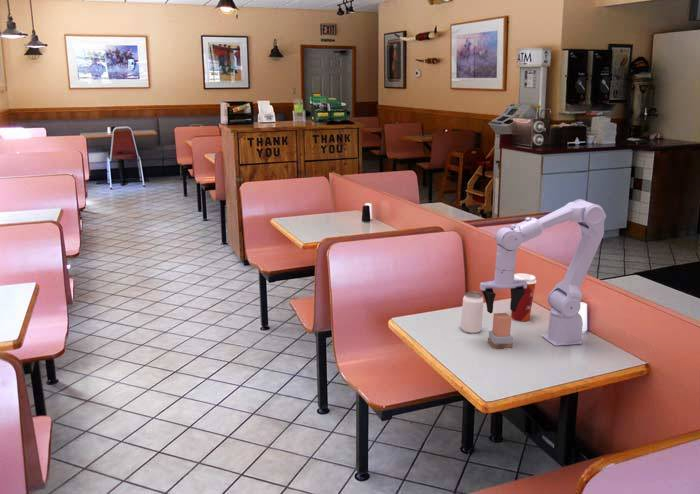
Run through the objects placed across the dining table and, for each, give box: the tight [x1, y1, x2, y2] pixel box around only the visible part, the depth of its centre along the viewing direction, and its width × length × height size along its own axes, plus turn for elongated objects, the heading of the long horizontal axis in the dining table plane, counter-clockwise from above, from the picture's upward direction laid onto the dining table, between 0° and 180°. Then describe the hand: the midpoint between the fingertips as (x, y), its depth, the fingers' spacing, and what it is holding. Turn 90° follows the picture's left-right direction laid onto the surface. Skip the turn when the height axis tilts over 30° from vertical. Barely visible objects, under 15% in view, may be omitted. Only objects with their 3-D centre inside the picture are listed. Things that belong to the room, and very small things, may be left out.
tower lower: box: [487, 337, 514, 350], centre depth 193 cm, size 6×6×2 cm
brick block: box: [491, 312, 513, 337], centre depth 192 cm, size 4×4×6 cm
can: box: [460, 291, 484, 334], centre depth 203 cm, size 6×6×12 cm
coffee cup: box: [510, 272, 538, 323], centre depth 214 cm, size 8×8×15 cm
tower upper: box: [488, 330, 513, 344], centre depth 193 cm, size 6×6×2 cm
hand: (501, 311), depth 192 cm, fingers open, 7 cm apart
